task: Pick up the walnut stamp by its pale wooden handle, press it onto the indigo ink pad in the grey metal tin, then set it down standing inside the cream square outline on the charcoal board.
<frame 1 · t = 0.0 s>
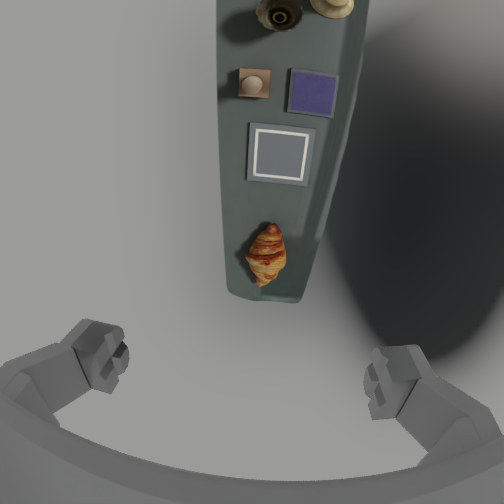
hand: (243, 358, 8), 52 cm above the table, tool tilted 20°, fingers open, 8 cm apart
croissant: (266, 251, 74), on the table
ink pad: (312, 92, 47), on the table
cup: (279, 18, 38), on the table
hand bell: (331, 0, 34), on the table
target board: (280, 154, 56), on the table
stamp: (255, 81, 47), on the table
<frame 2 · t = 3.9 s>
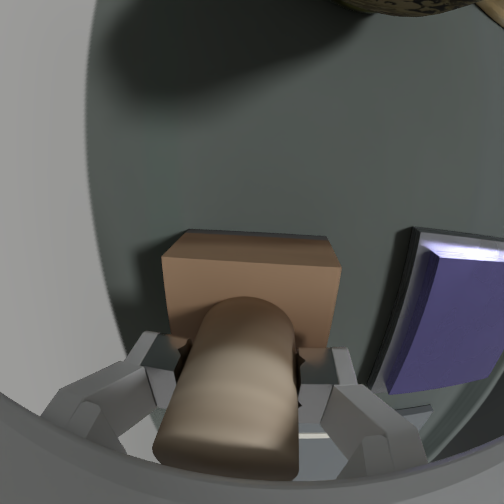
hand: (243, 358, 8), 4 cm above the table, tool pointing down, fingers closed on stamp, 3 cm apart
ink pad: (459, 316, 12), on the table
target board: (323, 458, 17), on the table
stamp: (254, 293, 12), on the table, touching gripper
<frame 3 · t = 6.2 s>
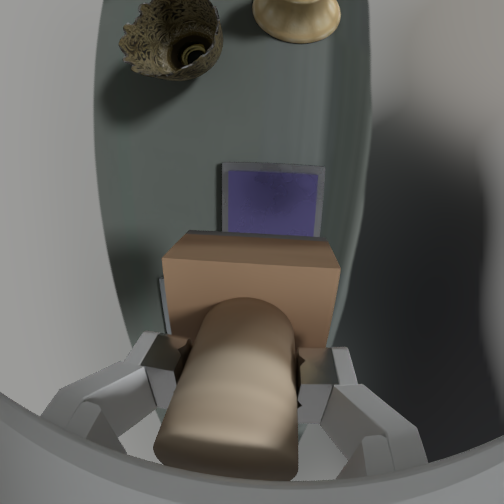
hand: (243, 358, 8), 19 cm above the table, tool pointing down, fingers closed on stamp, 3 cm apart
ink pad: (272, 211, 26), on the table
cup: (196, 58, 21), on the table
hand bell: (296, 10, 19), on the table
stamp: (254, 294, 12), point 15 cm above the table, touching gripper
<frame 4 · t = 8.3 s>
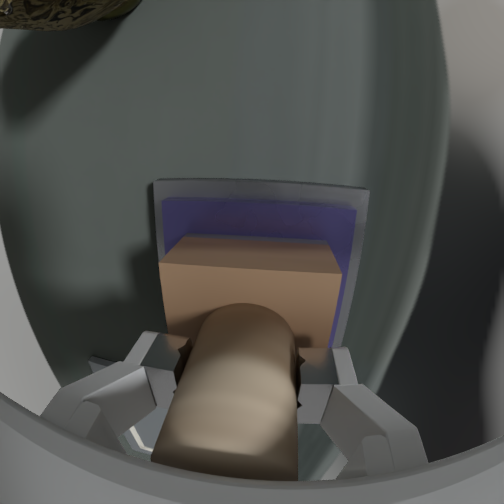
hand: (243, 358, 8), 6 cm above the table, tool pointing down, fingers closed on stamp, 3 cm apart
ink pad: (257, 276, 13), on the table
target board: (186, 427, 19), on the table
stamp: (253, 298, 12), point 2 cm above the table, touching gripper, ink pad
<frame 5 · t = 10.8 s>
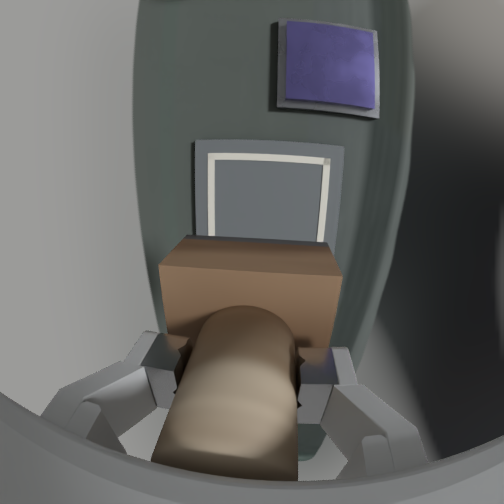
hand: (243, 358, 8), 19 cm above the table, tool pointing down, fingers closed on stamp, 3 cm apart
ink pad: (328, 66, 20), on the table
target board: (266, 212, 26), on the table
stamp: (253, 300, 12), point 15 cm above the table, touching gripper
when the fingers open (5 cm above the table, at t = 13.0 s): stamp stays where it is, resting on target board.
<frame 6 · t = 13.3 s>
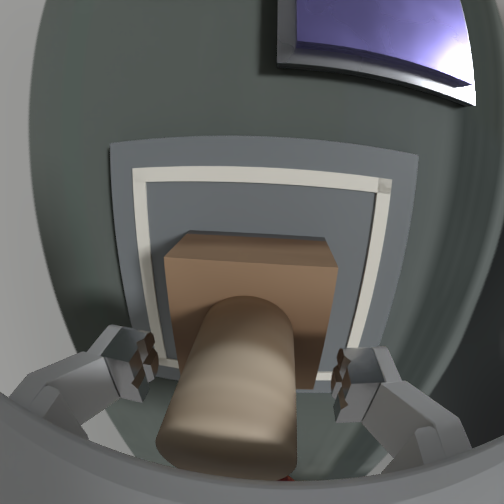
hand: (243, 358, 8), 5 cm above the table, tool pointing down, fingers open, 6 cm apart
target board: (255, 285, 13), on the table
stamp: (254, 293, 12), point 1 cm above the table, touching target board
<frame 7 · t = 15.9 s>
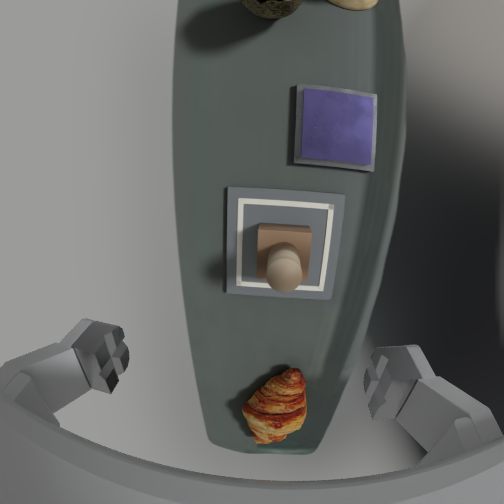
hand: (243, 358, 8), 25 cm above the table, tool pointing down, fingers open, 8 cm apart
croissant: (274, 401, 43), on the table
ink pad: (335, 127, 28), on the table
cup: (272, 10, 24), on the table
target board: (283, 245, 33), on the table
stamp: (283, 247, 32), point 1 cm above the table, touching target board
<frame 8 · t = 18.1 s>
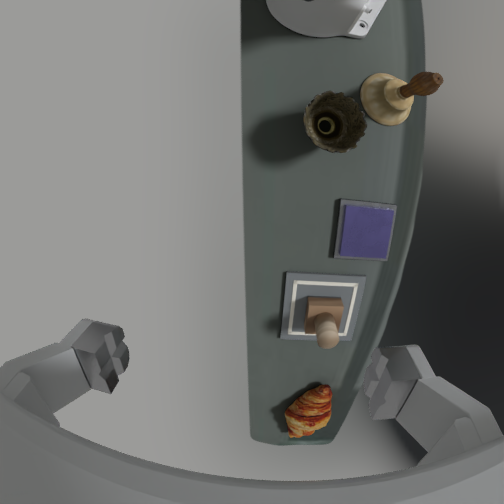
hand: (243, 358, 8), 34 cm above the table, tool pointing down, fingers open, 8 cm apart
croissant: (306, 406, 57), on the table
ink pad: (364, 230, 41), on the table
cup: (324, 126, 36), on the table
hand bell: (385, 99, 34), on the table
target board: (321, 308, 46), on the table
stamp: (321, 310, 46), point 1 cm above the table, touching target board
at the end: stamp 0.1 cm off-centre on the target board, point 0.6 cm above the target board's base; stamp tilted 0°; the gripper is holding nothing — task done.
